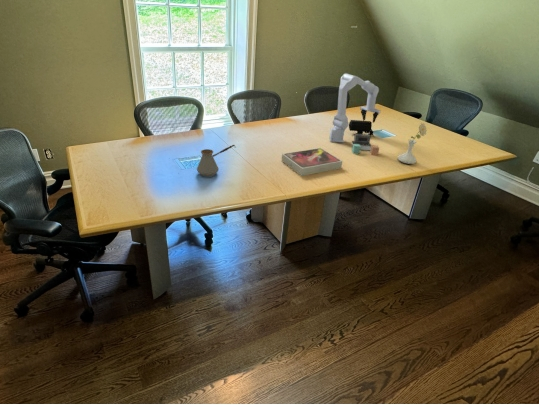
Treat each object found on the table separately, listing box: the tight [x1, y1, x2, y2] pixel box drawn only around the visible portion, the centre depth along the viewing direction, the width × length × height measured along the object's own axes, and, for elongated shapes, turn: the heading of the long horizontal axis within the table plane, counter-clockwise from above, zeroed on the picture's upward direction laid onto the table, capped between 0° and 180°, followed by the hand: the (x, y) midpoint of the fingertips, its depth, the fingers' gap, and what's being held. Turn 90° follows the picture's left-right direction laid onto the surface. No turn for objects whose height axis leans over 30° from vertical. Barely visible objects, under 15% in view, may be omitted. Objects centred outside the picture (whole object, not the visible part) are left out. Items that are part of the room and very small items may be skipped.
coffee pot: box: [196, 144, 237, 178], centre depth 181 cm, size 21×12×15 cm, turn 115°
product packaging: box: [281, 147, 343, 177], centre depth 200 cm, size 22×28×5 cm
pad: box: [360, 145, 371, 152], centre depth 229 cm, size 10×8×1 cm
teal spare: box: [351, 143, 361, 154], centre depth 221 cm, size 4×4×5 cm
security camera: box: [348, 119, 374, 137], centre depth 250 cm, size 7×18×10 cm, turn 89°
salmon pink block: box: [369, 144, 380, 156], centre depth 221 cm, size 4×4×5 cm
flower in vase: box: [397, 122, 428, 165], centre depth 207 cm, size 13×11×25 cm
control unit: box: [351, 133, 372, 147], centre depth 234 cm, size 12×5×6 cm, turn 88°
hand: (368, 121), depth 247 cm, fingers open, 7 cm apart
